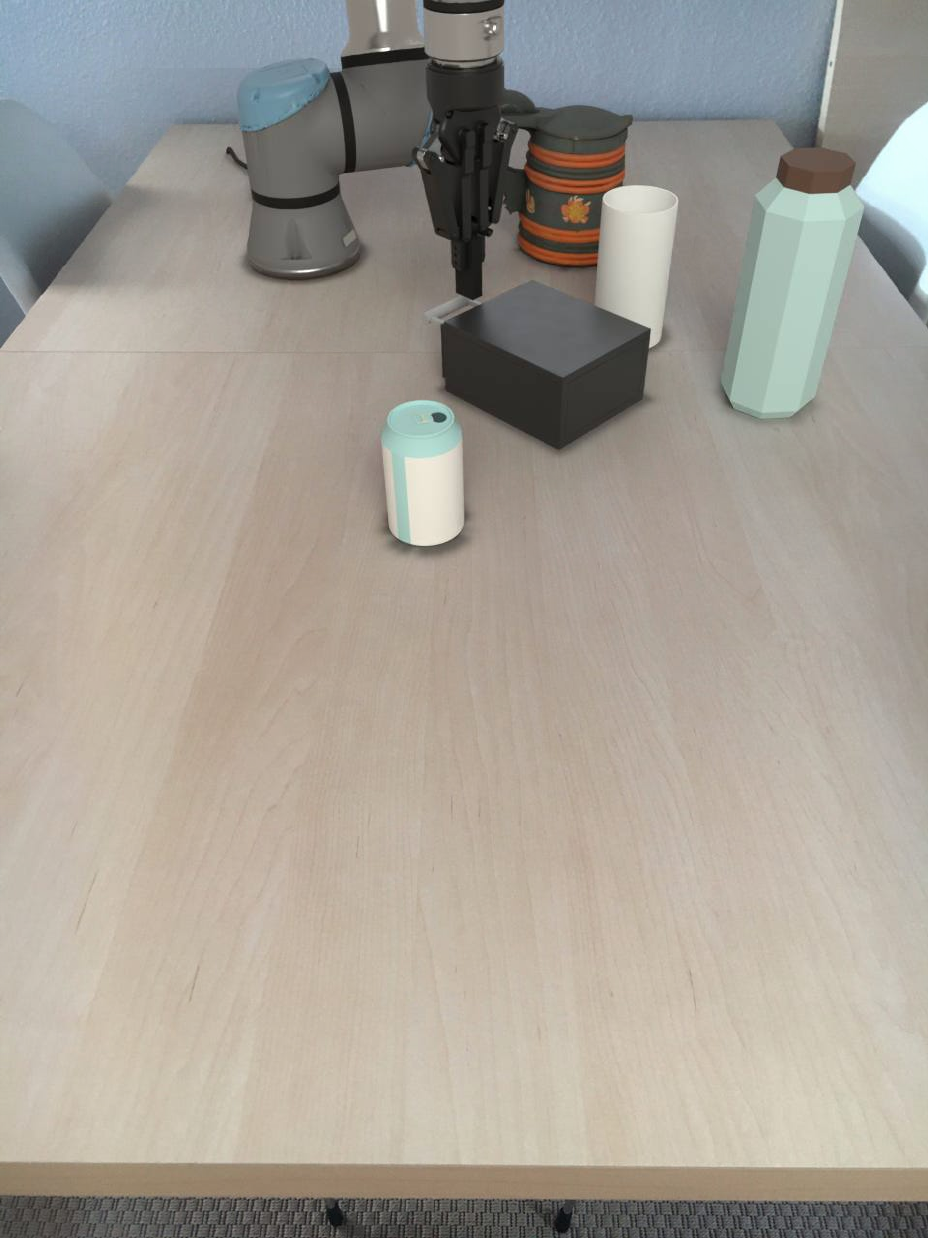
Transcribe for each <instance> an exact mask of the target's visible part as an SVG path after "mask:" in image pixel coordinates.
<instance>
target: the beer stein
mask: <svg viewBox="0 0 928 1238" xmlns="http://www.w3.org/2000/svg"><path fill="white" fill-rule="evenodd" d="M499 107H500V110H501V117H502V118H503V119H505V120H506V121H510V122H513V123H516V124H517V125H518V130H524V131H526V132H527V133H528V134H529V139H528V141H527V145H526V146H527V148H528V150H527V151H526V152H525V160H526V161H525V163H524V166H523V169H522V168H516V167H513V166H510V165H509V166H508V172H507V178H506V184H505V191H504V198H503V203H502V207H504V209H506V210H507V211H508V213H509V216H511V215H512V214H513V213H515V212H518V217H519V222H518V225H517V227H518V233H517V238H518V242H519V245H520V248H521V249H522V251H523V252H524V253H525V254H526V255H529V256H530V258H532V259H534V260H537V261H539V262H542V263H546V264H550V265H556V266H565V267H581V268H584V267H592V266H597V264H598V251H599V237H600V224H601V212H602V200H603V196H604V195H605V193H607V192H608V191H610V190H612V189H615V188H618V187H623V186H624V180H625V177H626V146H627V145H626V144H627V142H626V141H627V140H628V138H629V137H628V136H629V130H628V129H629V128H628V127H630V126H632V125H633V121H634V116H633V115H632V114H625V115H619V114H616V113H615V112H613V111H610V110H607V109H605V108H601V107H597V106H592V105H585V104H573V105H566V106H561V107H557V108H549V107H544V106H543V107H542V106H541V107H540V106H537V107H536V105H535V103H534V102H533V100H532V99H531V98H530V97H529V96H528V95H526V94H524V93H522V92H521V91H518V90H515V89H507V88H505V87H504V98H503V100H502V101H501V102H500V103H499Z"/></svg>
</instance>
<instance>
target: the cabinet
mask: <svg viewBox="0 0 928 1238" xmlns="http://www.w3.org/2000/svg"><path fill="white" fill-rule="evenodd" d="M481 303H482V304H480V305H478V306H476V307H472V308H470V309H467V310H465V311H463V312H461V313H459V314H457V315H455V316H452V317H451V318H449V319H447V320H443V321H444V345H445V374H446V379H445V391H446V392H448V393H450V394H452V395H454V396H455V397H457V398H459V399H461V400H463V401H464V402H467V403H469V404H471V405H473V406H475V407H476V408H478V409H480V410H482V411H484V412H486V413H488V414H490V415H492V416H493V417H495V418H497V419H499V420H501V421H503V422H505V423H506V424H509V425H511V426H512V427H514V428H516V429H518V430H520V431H522V432H524V433H526V434H528V435H530V436H531V437H533V438H535V439H537V440H539V441H541V442H542V443H545V444H546V445H549V446H551V447H553V448H554V449H556V450H557V451H560V450H561V449H563V448H565V447H567V446H568V445H570V444H571V443H573V442H575V441H576V440H578V439H579V438H581V437H582V436H583V437H584V436H585V435H586V434H588V433H589V432H591V431H592V430H594V429H596V428H597V427H599V426H601V425H602V424H604V423H605V422H607V421H609V420H610V419H612V418H614V417H615V416H617V415H618V414H620V413H622V412H624V411H625V410H627V409H628V408H630V407H631V406H633V405H635V404H636V403H638V402H640V401H641V400H643V398H644V390H645V383H646V375H647V367H648V358H649V350H650V348H649V343H650V333H651V329H650V328H648V327H646V326H643V325H641V324H638V323H636V322H633V321H631V320H629V319H626V318H624V317H621V316H619V315H616V314H614V313H612V312H609V311H607V310H604V309H602V308H600V307H597V306H595V305H594V304H592V303H590V302H588V301H585V300H582V299H581V298H578V297H575V296H573V295H570V294H568V293H566V292H564V291H561V290H559V289H556V288H554V287H552V286H548V285H546V284H544V283H541V282H539V281H536V280H534V279H530V280H529V281H526V282H524V283H522V284H519V285H518V286H516V287H514V288H511V289H510V290H507V291H505V292H503V293H500V294H498V295H497V296H495V297H493V298H490V299H488V300H486V301H484V302H481Z"/></svg>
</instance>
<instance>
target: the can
mask: <svg viewBox="0 0 928 1238" xmlns="http://www.w3.org/2000/svg"><path fill="white" fill-rule="evenodd" d="M386 416H387V417H386V422H385V425H384V426H383V428H382V430H381V432H380V445H381V454H382V465H383V477H384V488H385V498H386V510H387V520H388V528H389V530H390V532H391V534H392V535H393V536H394V537H395V538H397V539H398V540H400V541H401V542H403V543H405V544H408V545H412V546H419V547H433V546H437V545H441V544H444V543H446V542H449V541H451V540H453V539H454V538H456V537H457V536H458V535H459V534H460V533H461V531H462V530H463V528H464V525H465V491H464V490H465V489H464V487H465V486H464V449H463V448H464V447H463V445H464V444H463V443H464V442H463V429H462V427H461V425H460V423H459V422H458V421H457V420H456V419H455V414H454V411H453V410H452V409H451V408H450V407H448V405H445V403H442V402H439V401H435V400H429V399H416V400H415V399H414V400H409V401H406V402H403V403H401V404H398V405H396V406H395V407H394V408H392V409H391V410H390V411H389V413H388V414H387V415H386Z"/></svg>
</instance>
